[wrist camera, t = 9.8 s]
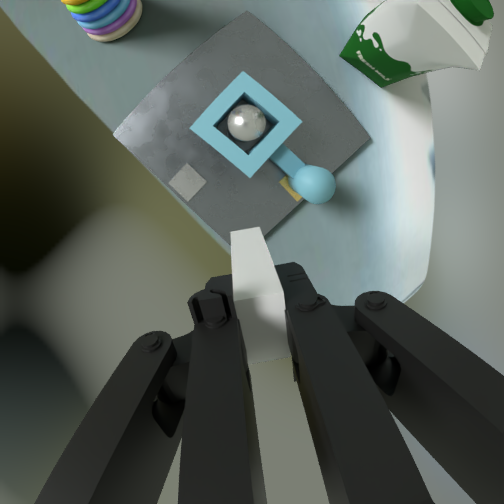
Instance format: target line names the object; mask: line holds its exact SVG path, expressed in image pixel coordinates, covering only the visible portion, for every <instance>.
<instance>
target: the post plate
mask: <svg viewBox="0 0 504 504" xmlns="http://www.w3.org/2000/svg"><path fill="white" fill-rule="evenodd" d="M243 71H244V72H245V73H246V74H248V75H249V76H250V77H251V78H253V79H254V80H255V81H256V82H258V83H259V84H260V85H261V86H263V87H264V88H265V89H266V90H267V91H269V92H270V93H271V94H272V95H273V96H274V97H276V98H277V99H278V100H279V101H280V102H281V103H283V104H284V105H285V106H286V107H287V108H288V109H289V110H290V111H291V112H293V113H294V114H295V115H296V116H297V117H298V118H299V119H300V120H301V121H302V123H301V124H300V125H299V126H298V127H297V128H296V129H295V130H294V131H293V132H292V133H291V134H290V135H289V136H288V137H287V139H286V140H285V141H284V142H283V144H284V145H285V146H286V147H287V148H288V149H289V150H291V151H292V152H293V153H294V154H295V155H296V156H297V157H298V158H299V159H300V160H301V161H302V162H303V163H305V164H309V165H313V166H317V167H321V168H324V169H327V170H328V171H329V172H331V174H332V173H333V172H334V171H335V170H336V169H337V168H338V167H339V166H340V165H342V164H343V163H344V162H345V161H346V160H347V159H348V158H349V157H350V156H351V155H352V154H353V153H355V152H356V151H357V150H358V149H359V148H360V147H361V146H362V145H363V144H364V143H365V142H366V141H368V140H369V139H370V136H369V135H368V134H367V132H366V131H365V130H364V128H363V127H362V126H361V124H360V123H359V122H358V121H357V119H356V118H355V117H354V116H353V114H352V113H351V112H350V111H349V109H348V108H347V107H346V106H345V105H344V103H343V102H342V101H341V100H340V99H339V98H338V96H337V95H336V94H335V93H334V92H333V91H332V90H331V88H330V87H329V86H328V85H327V84H326V83H325V82H324V81H323V80H322V79H321V78H320V76H319V75H318V74H317V73H316V72H315V71H314V70H313V69H312V68H311V67H310V66H309V65H308V64H307V63H306V62H305V61H304V60H303V59H302V58H301V57H300V56H299V55H298V54H297V53H296V52H295V51H294V50H293V49H292V48H291V47H289V46H288V45H287V44H286V43H285V42H284V41H283V40H282V39H281V38H280V37H278V36H277V35H276V34H275V33H274V32H273V31H272V30H270V29H269V28H268V27H267V26H266V25H265V24H263V23H262V22H261V21H260V20H258V19H257V18H256V17H255V16H253V15H252V14H251V13H250V12H248V11H246V12H244V13H243V14H241V15H240V16H239V17H237V18H236V19H234V20H233V21H231V22H230V23H229V24H227V25H226V26H225V27H223V28H222V29H221V30H219V31H218V32H217V33H215V34H214V35H213V36H211V37H210V38H209V39H208V40H206V41H205V42H204V43H203V44H201V45H200V46H199V47H198V48H197V49H195V50H194V51H193V52H192V53H191V54H190V55H188V56H187V57H186V58H185V59H184V60H183V61H182V62H181V63H179V64H178V65H177V66H176V67H175V68H174V69H173V70H172V71H171V72H170V73H169V74H168V75H167V76H166V77H165V78H164V79H162V80H161V81H160V82H159V83H158V84H157V85H156V86H155V87H154V88H153V90H152V91H151V92H150V93H149V94H148V95H147V96H146V97H145V98H144V99H143V100H142V101H141V102H140V103H139V104H138V105H137V107H136V108H135V109H134V110H133V111H132V112H131V113H130V114H129V116H128V117H127V118H126V119H125V120H124V121H123V123H122V124H121V125H120V126H119V127H118V129H117V130H116V131H115V132H114V133H113V135H114V136H115V137H116V138H117V139H118V140H119V141H120V142H121V143H122V144H123V145H124V146H125V147H126V148H127V149H128V150H129V151H130V152H131V153H133V154H134V155H135V156H136V157H137V158H138V159H139V160H140V161H141V162H142V163H143V164H144V165H145V166H146V167H147V168H148V169H149V170H150V171H151V172H153V173H154V174H155V175H156V176H157V177H158V178H159V179H160V180H161V181H162V182H163V183H164V184H165V185H166V186H167V187H168V188H169V189H171V190H172V191H173V192H174V193H175V194H176V195H177V196H178V197H179V198H180V199H181V200H182V201H183V202H184V203H185V204H187V205H188V206H189V207H190V208H191V209H192V210H193V211H194V212H195V213H196V214H197V215H198V216H199V217H200V218H201V219H203V220H204V221H205V222H206V223H207V224H208V225H209V226H210V227H211V228H212V229H213V230H214V231H215V232H217V233H218V234H219V235H220V236H221V237H222V238H223V239H224V240H225V241H226V242H227V243H228V244H229V245H231V233H230V232H232V231H237V230H243V229H249V228H255V227H260V229H261V232H262V235H263V237H264V236H265V235H266V234H267V233H268V232H269V231H270V230H271V229H272V228H273V227H275V226H276V225H277V224H278V223H279V222H280V221H281V220H282V219H283V218H284V217H285V216H286V215H287V214H289V213H290V212H291V211H292V210H293V209H294V208H295V207H296V206H297V205H298V204H299V203H300V202H302V201H303V200H304V198H303V197H302V196H300V195H299V194H298V193H296V192H295V191H293V190H292V189H291V187H290V186H289V184H288V175H287V174H286V173H285V172H284V171H283V170H281V169H280V168H279V167H278V166H277V165H276V164H275V163H274V162H273V161H271V160H270V159H269V158H268V159H267V160H266V161H265V162H264V163H263V164H262V166H261V167H260V168H259V169H258V170H257V171H256V172H255V173H254V174H253V176H252V177H251V178H249V177H248V176H247V175H246V174H245V173H243V172H242V171H241V170H240V169H239V168H237V167H236V166H235V165H234V164H233V163H232V162H230V161H229V160H228V159H227V158H225V157H224V156H223V155H222V154H221V153H219V152H218V151H217V150H216V149H215V148H213V147H212V146H211V145H210V144H208V143H207V142H206V141H205V140H203V139H202V138H201V137H200V136H198V135H197V134H196V133H195V132H193V131H192V130H191V129H189V128H190V127H191V126H192V125H193V123H194V122H195V121H196V120H197V119H198V118H199V117H200V116H201V114H202V113H203V112H204V111H205V110H206V109H207V108H208V107H209V106H210V104H211V103H212V102H213V101H214V100H215V99H216V98H217V97H218V96H219V95H220V94H221V93H222V92H223V91H224V90H225V89H226V88H227V86H228V85H229V84H230V83H231V82H232V81H233V80H234V79H235V78H236V77H237V76H238V75H239V74H240V73H241V72H243ZM272 126H273V124H272V123H271V122H269V121H268V120H267V119H266V118H265V116H264V114H263V113H262V111H261V110H260V109H258V108H257V107H255V106H252V105H249V104H248V103H247V102H246V101H245V100H243V99H242V100H241V101H240V102H239V103H238V104H237V105H236V106H235V107H234V108H233V109H232V110H231V111H230V113H229V114H228V115H227V116H226V117H225V118H224V119H223V120H222V121H221V122H220V123H219V125H218V126H217V127H216V129H217V130H219V131H220V132H221V133H222V134H223V135H225V136H226V137H227V138H228V139H230V140H231V141H232V142H233V143H234V144H236V145H237V146H238V147H239V148H240V149H242V150H243V151H244V152H245V153H246V154H247V153H248V152H249V151H250V150H251V149H252V147H253V146H254V145H255V144H256V143H257V142H258V141H259V140H260V139H261V138H262V137H263V136H264V134H265V133H266V132H267V131H268V130H269V129H270V128H271V127H272Z"/></svg>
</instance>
